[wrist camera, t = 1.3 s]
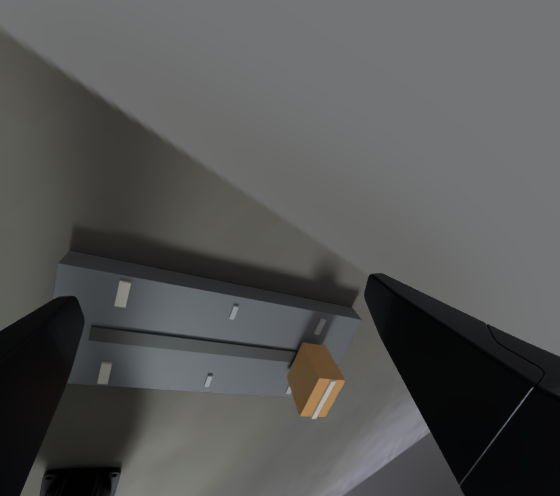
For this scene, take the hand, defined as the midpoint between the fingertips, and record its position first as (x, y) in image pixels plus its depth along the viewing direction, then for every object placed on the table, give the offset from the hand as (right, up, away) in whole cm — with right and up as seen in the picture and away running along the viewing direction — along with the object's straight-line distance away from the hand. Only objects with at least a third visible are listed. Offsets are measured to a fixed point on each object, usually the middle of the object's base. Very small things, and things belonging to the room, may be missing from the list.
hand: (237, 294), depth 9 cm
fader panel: (-4, -6, +17) cm, 18 cm away
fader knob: (+4, -9, +17) cm, 20 cm away
